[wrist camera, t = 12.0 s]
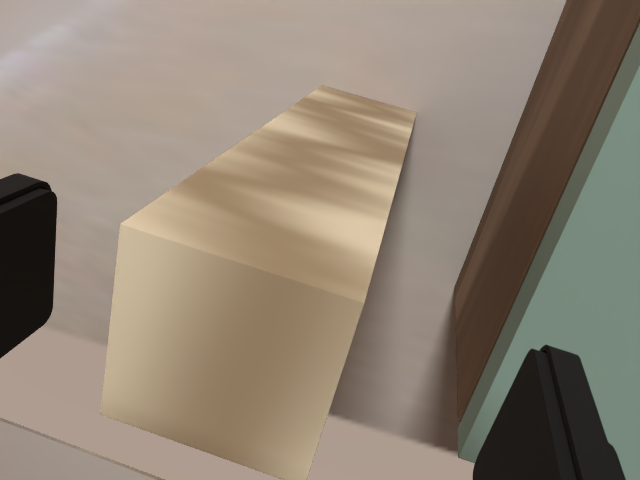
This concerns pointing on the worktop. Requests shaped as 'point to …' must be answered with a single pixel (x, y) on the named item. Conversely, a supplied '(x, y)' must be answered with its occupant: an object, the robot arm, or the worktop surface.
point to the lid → (584, 283)
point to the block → (255, 284)
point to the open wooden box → (537, 173)
